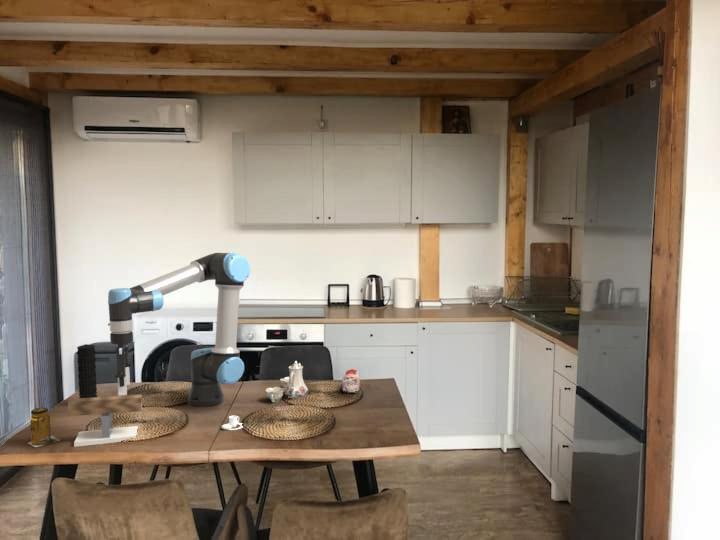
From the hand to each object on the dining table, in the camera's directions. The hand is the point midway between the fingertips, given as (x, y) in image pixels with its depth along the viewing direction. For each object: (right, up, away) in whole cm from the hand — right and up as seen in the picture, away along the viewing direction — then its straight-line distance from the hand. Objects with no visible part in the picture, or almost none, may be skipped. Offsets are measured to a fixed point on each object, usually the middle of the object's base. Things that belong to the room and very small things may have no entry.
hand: (124, 389), depth 210 cm
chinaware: (+54, -13, +50) cm, 74 cm away
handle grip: (-30, -15, +38) cm, 50 cm away
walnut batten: (-6, -8, -1) cm, 10 cm away
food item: (+81, -13, +58) cm, 100 cm away
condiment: (-27, -18, -4) cm, 32 cm away
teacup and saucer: (+34, -17, +11) cm, 39 cm away
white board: (-6, -17, -1) cm, 18 cm away
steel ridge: (-6, -16, -1) cm, 17 cm away
